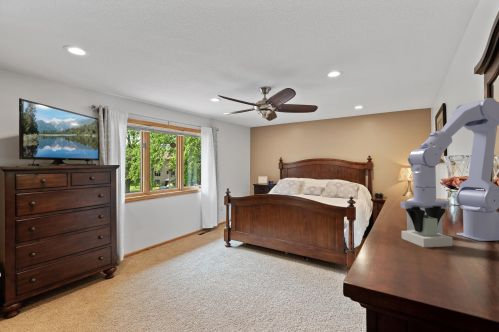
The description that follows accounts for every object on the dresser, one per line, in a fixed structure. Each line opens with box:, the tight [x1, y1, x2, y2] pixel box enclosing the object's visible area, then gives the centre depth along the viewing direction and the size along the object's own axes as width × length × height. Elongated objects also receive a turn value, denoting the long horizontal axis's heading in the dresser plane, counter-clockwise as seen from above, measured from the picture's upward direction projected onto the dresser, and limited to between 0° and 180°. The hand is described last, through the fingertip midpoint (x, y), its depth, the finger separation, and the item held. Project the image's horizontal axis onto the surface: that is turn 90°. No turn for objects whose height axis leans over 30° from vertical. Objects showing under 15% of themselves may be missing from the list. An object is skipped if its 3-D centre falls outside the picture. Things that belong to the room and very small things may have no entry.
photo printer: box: [406, 197, 443, 234], centre depth 86 cm, size 10×4×12 cm, turn 39°
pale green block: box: [415, 214, 438, 237], centre depth 75 cm, size 4×4×7 cm
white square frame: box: [401, 230, 454, 248], centre depth 75 cm, size 9×9×2 cm
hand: (425, 231), depth 75 cm, fingers closed on pale green block, 4 cm apart
